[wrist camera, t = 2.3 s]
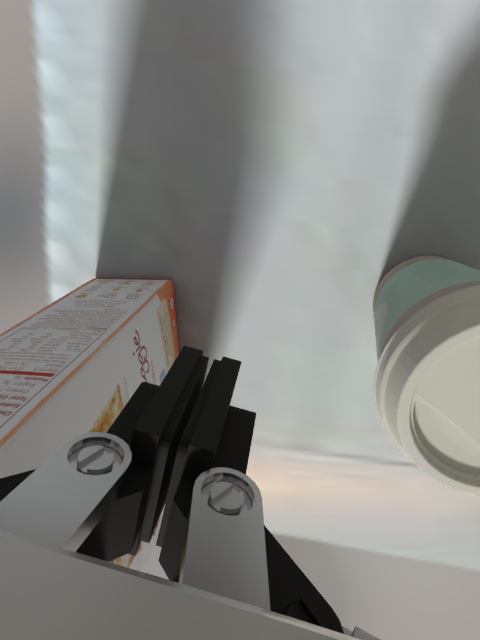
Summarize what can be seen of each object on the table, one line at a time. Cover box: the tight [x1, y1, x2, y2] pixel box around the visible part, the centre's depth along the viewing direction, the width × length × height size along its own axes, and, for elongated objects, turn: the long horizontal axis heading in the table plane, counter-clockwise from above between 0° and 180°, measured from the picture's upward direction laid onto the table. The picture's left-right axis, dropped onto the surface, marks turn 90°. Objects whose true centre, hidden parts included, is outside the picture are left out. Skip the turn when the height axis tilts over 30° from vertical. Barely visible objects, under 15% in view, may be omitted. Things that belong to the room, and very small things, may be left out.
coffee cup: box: [373, 255, 480, 496], centre depth 20 cm, size 8×8×12 cm
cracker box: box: [0, 278, 179, 572], centre depth 21 cm, size 14×6×21 cm, turn 1°
